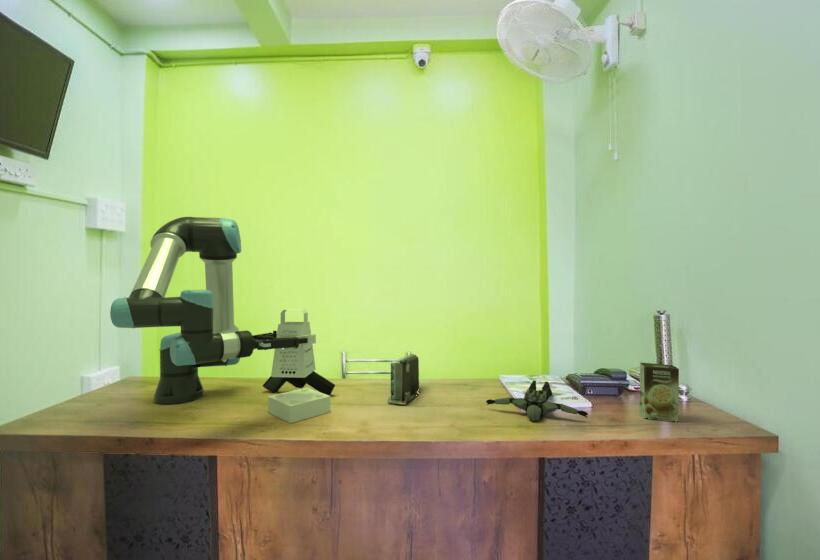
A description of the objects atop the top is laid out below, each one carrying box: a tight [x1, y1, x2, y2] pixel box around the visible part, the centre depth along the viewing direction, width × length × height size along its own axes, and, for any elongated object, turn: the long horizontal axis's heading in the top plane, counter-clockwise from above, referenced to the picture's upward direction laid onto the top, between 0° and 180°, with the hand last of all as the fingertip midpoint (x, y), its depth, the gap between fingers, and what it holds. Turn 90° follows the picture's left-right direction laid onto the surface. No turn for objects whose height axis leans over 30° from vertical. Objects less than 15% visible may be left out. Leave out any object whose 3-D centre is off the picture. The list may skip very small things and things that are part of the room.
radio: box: [387, 353, 420, 406], centre depth 140 cm, size 23×9×15 cm, turn 157°
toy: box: [485, 380, 589, 422], centre depth 127 cm, size 30×8×30 cm
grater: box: [270, 308, 316, 378], centre depth 121 cm, size 10×10×20 cm
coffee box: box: [638, 362, 680, 422], centre depth 118 cm, size 9×6×16 cm
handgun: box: [262, 369, 336, 396], centre depth 142 cm, size 2×24×15 cm, turn 79°
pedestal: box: [267, 387, 332, 424], centre depth 123 cm, size 14×14×5 cm
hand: (305, 336), depth 123 cm, fingers closed on grater, 11 cm apart
